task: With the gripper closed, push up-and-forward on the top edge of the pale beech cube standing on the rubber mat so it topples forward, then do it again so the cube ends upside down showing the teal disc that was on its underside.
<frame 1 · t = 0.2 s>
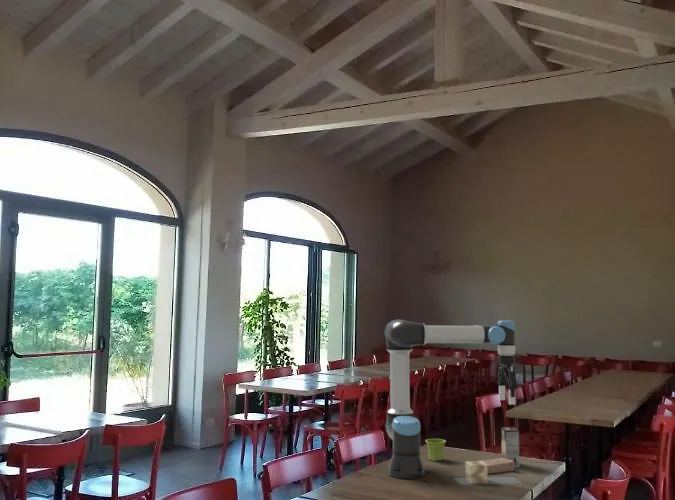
hand: (507, 402, 315), 28 cm above the table, tool pointing down, fingers open, 13 cm apart
rubber mat: (487, 481, 284), on the table
coffee box: (510, 465, 313), on the table
beech block: (476, 480, 284), resting on rubber mat
plant pot: (435, 460, 323), on the table
brick: (493, 472, 302), on the table
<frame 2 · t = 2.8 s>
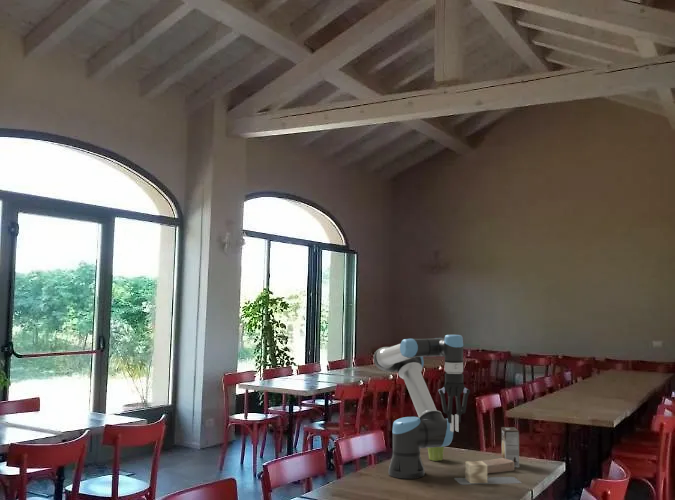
hand: (454, 431, 284), 20 cm above the table, tool pointing down, fingers closed
nothing on the table moved.
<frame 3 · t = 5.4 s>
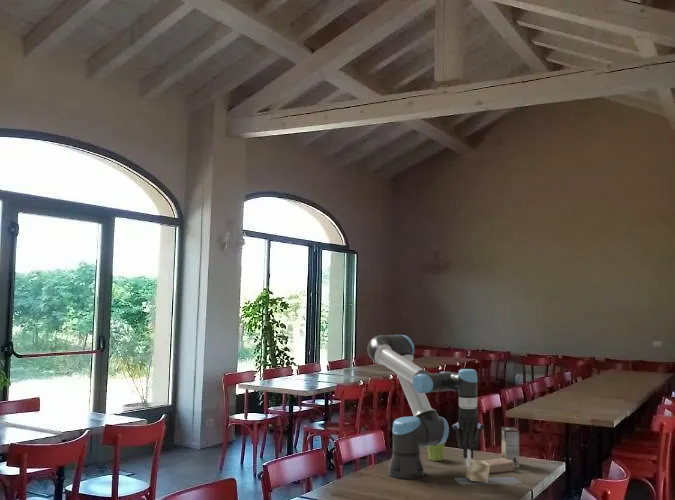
hand: (468, 466, 284), 6 cm above the table, tool pointing down, fingers closed
beech block: (476, 479, 284), point 1 cm above the table, tilted 9°, touching gripper, rubber mat
everything else where it was.
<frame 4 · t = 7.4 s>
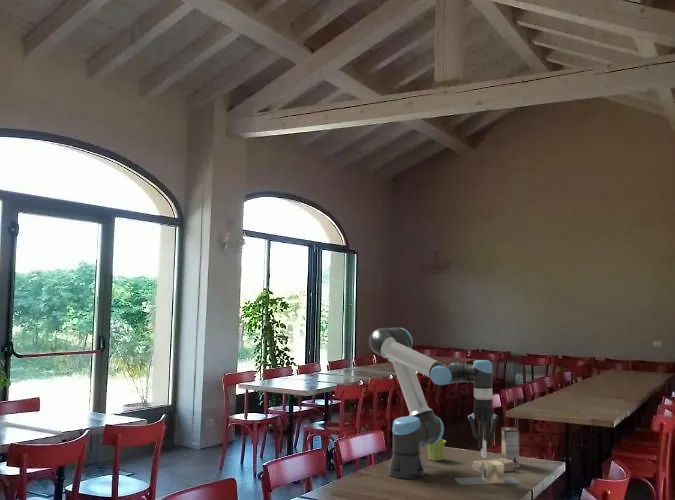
hand: (483, 456, 285), 10 cm above the table, tool pointing down, fingers closed
beech block: (484, 471, 284), point 4 cm above the table, tilted 90°, touching rubber mat
everything else where it was.
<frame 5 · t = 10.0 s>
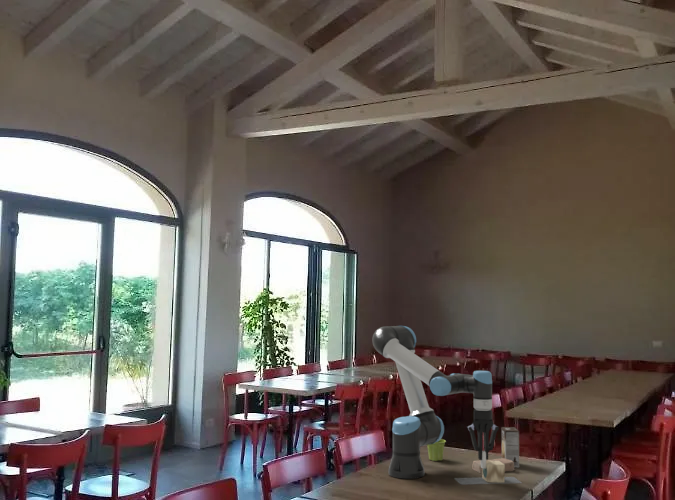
hand: (483, 467, 284), 6 cm above the table, tool pointing down, fingers closed
beech block: (484, 471, 284), point 4 cm above the table, tilted 92°, touching gripper, rubber mat
everything else where it was.
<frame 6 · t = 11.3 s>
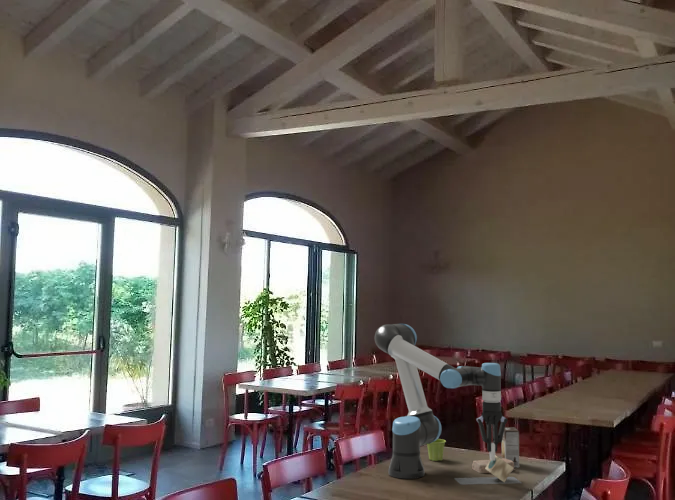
hand: (492, 459, 285), 9 cm above the table, tool pointing down, fingers closed
beech block: (492, 463, 285), point 7 cm above the table, tilted 125°, touching gripper, rubber mat
everything else where it was.
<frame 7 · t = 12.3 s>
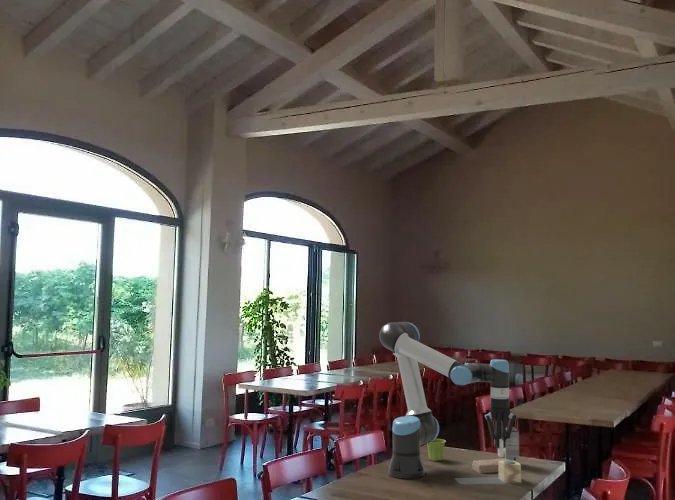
hand: (500, 456, 285), 10 cm above the table, tool pointing down, fingers closed
beech block: (509, 462, 286), point 7 cm above the table, tilted 180°, touching rubber mat
everything else where it was.
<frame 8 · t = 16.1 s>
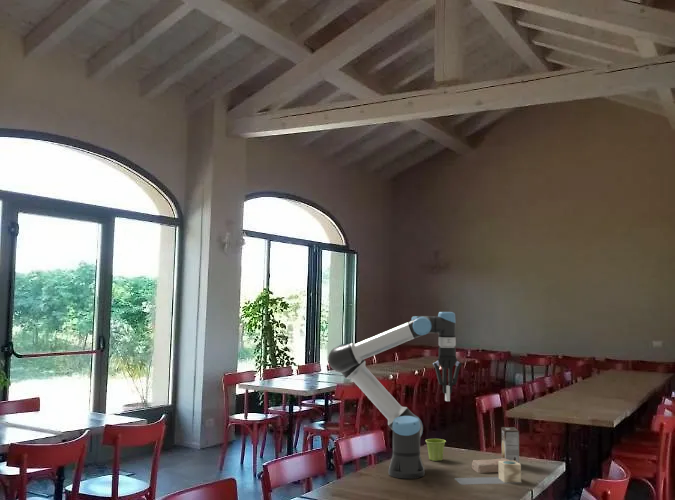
hand: (447, 400, 307), 29 cm above the table, tool pointing down, fingers closed
nothing on the table moved.
at the end: beech block tilted 180°; beech block inside the target area (1.0 cm from its centre), point 7.4 cm above the table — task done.
